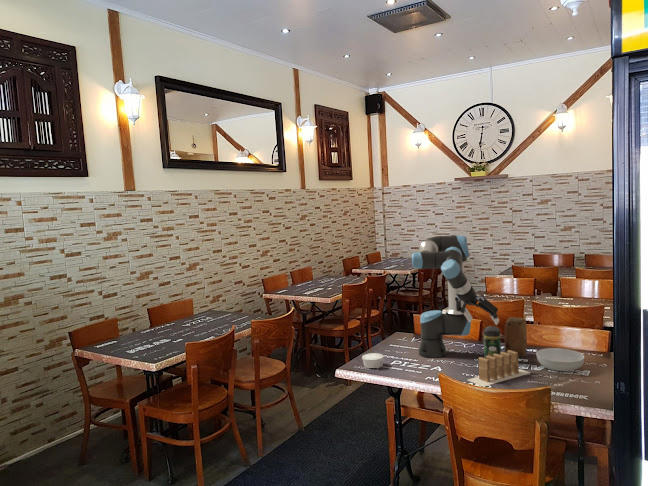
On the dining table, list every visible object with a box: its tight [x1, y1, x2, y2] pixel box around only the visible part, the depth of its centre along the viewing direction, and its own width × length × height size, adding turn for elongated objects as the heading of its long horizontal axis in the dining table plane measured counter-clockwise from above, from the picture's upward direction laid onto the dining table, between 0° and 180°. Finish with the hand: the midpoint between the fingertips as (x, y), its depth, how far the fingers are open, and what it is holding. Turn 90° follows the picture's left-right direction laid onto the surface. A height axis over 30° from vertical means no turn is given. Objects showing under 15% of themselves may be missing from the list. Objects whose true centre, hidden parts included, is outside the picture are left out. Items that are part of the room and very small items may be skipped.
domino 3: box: [493, 354, 505, 378], centre depth 222 cm, size 2×5×10 cm, turn 27°
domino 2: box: [486, 355, 497, 380], centre depth 220 cm, size 2×5×10 cm, turn 26°
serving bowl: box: [536, 347, 585, 372], centre depth 231 cm, size 21×21×7 cm
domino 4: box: [500, 351, 512, 376], centre depth 224 cm, size 2×5×10 cm, turn 27°
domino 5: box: [507, 350, 520, 374], centre depth 226 cm, size 2×5×10 cm, turn 27°
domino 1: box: [478, 356, 490, 382], centre depth 218 cm, size 2×5×10 cm, turn 26°
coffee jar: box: [483, 325, 502, 359], centre depth 242 cm, size 10×8×19 cm
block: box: [504, 316, 528, 358], centre depth 252 cm, size 11×8×20 cm
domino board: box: [467, 368, 531, 388], centre depth 222 cm, size 30×10×1 cm, turn 117°
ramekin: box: [361, 352, 385, 369], centre depth 249 cm, size 11×11×5 cm
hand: (484, 321), depth 220 cm, fingers open, 13 cm apart
